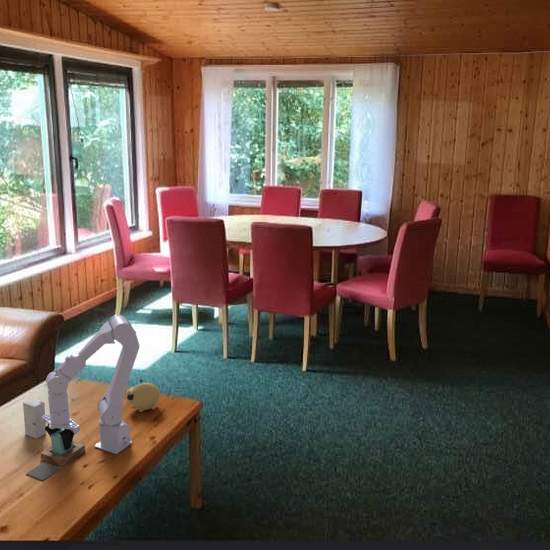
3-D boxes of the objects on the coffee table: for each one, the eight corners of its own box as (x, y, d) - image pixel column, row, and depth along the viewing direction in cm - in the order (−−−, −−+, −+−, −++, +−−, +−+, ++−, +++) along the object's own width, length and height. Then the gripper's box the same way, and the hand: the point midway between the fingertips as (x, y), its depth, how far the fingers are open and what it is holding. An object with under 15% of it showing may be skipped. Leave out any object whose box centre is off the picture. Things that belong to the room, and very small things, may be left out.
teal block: (73, 452, 191) (71, 430, 189) (62, 460, 187) (59, 438, 184) (64, 449, 193) (62, 427, 190) (52, 457, 188) (50, 435, 186)
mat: (60, 468, 182) (60, 467, 182) (42, 481, 176) (42, 480, 176) (44, 462, 185) (44, 461, 185) (26, 474, 179) (26, 473, 179)
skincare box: (24, 434, 201) (21, 402, 198) (35, 428, 205) (32, 397, 201) (37, 439, 198) (33, 407, 195) (47, 433, 202) (44, 401, 198)
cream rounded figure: (129, 402, 223) (128, 377, 221) (161, 402, 224) (160, 376, 221) (124, 416, 214) (123, 389, 211) (158, 415, 215) (157, 388, 212)
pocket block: (85, 450, 192) (84, 445, 191) (61, 466, 183) (61, 460, 183) (64, 443, 196) (64, 437, 195) (40, 459, 187) (40, 452, 187)
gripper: (32, 408, 185) (36, 446, 188) (66, 419, 178) (70, 459, 182) (49, 399, 191) (53, 436, 194) (83, 409, 185) (86, 447, 188)
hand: (62, 446), depth 189 cm, fingers closed on teal block, 4 cm apart
